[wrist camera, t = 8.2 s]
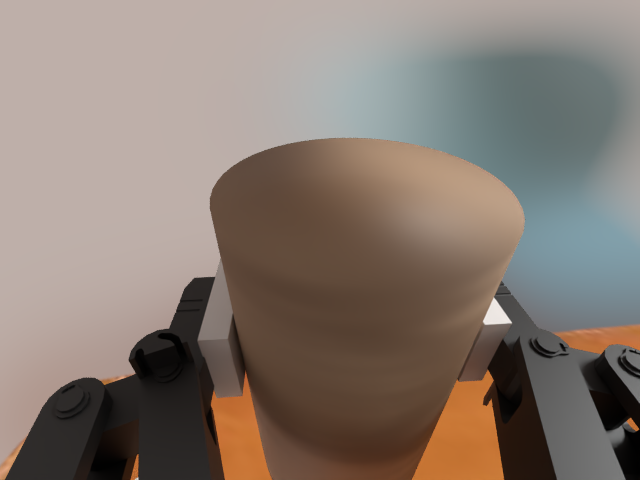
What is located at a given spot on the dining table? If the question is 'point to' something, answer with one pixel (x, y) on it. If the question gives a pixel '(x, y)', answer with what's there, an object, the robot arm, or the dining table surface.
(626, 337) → the dining table surface
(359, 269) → the peg
